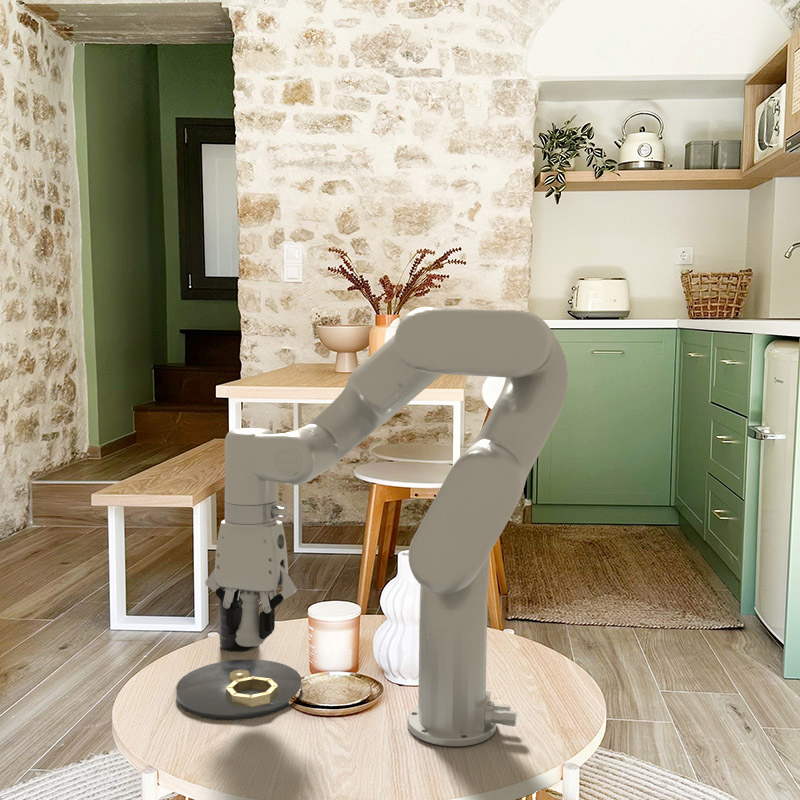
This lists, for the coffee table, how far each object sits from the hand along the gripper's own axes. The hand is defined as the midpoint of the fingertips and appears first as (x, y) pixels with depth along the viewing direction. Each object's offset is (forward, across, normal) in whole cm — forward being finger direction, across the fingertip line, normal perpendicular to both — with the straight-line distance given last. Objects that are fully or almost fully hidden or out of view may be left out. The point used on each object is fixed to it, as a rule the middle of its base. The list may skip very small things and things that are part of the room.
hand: (250, 632), depth 128 cm
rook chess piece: (+2, 0, 0) cm, 2 cm away
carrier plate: (+11, +4, -4) cm, 12 cm away
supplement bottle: (+12, +13, -22) cm, 28 cm away
